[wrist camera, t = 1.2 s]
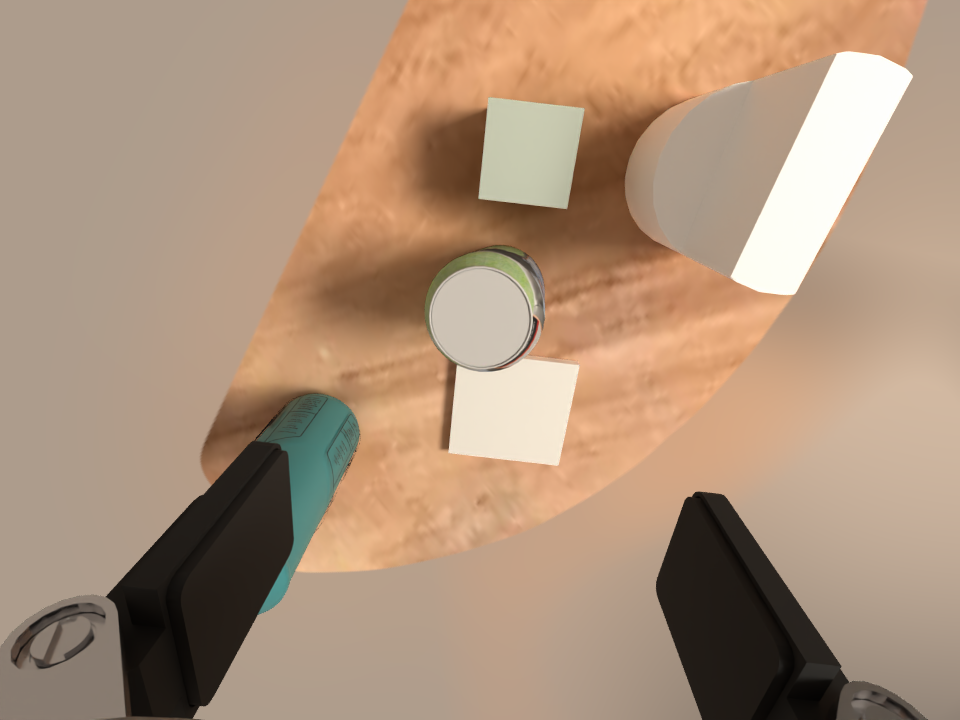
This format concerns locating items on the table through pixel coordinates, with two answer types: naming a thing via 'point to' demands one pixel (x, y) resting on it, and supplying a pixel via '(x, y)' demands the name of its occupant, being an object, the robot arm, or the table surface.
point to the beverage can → (486, 308)
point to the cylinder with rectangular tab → (762, 166)
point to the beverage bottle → (310, 467)
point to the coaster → (514, 410)
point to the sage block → (529, 152)
